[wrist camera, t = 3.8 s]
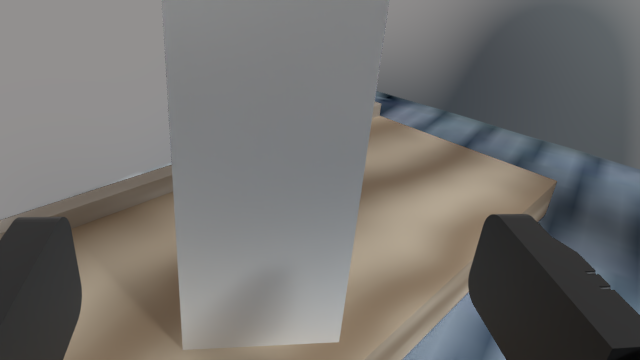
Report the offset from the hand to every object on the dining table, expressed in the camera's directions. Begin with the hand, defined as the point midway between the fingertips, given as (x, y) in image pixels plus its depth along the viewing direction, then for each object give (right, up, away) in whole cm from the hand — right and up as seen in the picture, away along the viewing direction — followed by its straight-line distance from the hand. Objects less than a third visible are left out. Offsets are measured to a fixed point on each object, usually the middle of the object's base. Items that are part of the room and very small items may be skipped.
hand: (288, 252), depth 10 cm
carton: (-2, -3, +10) cm, 11 cm away
